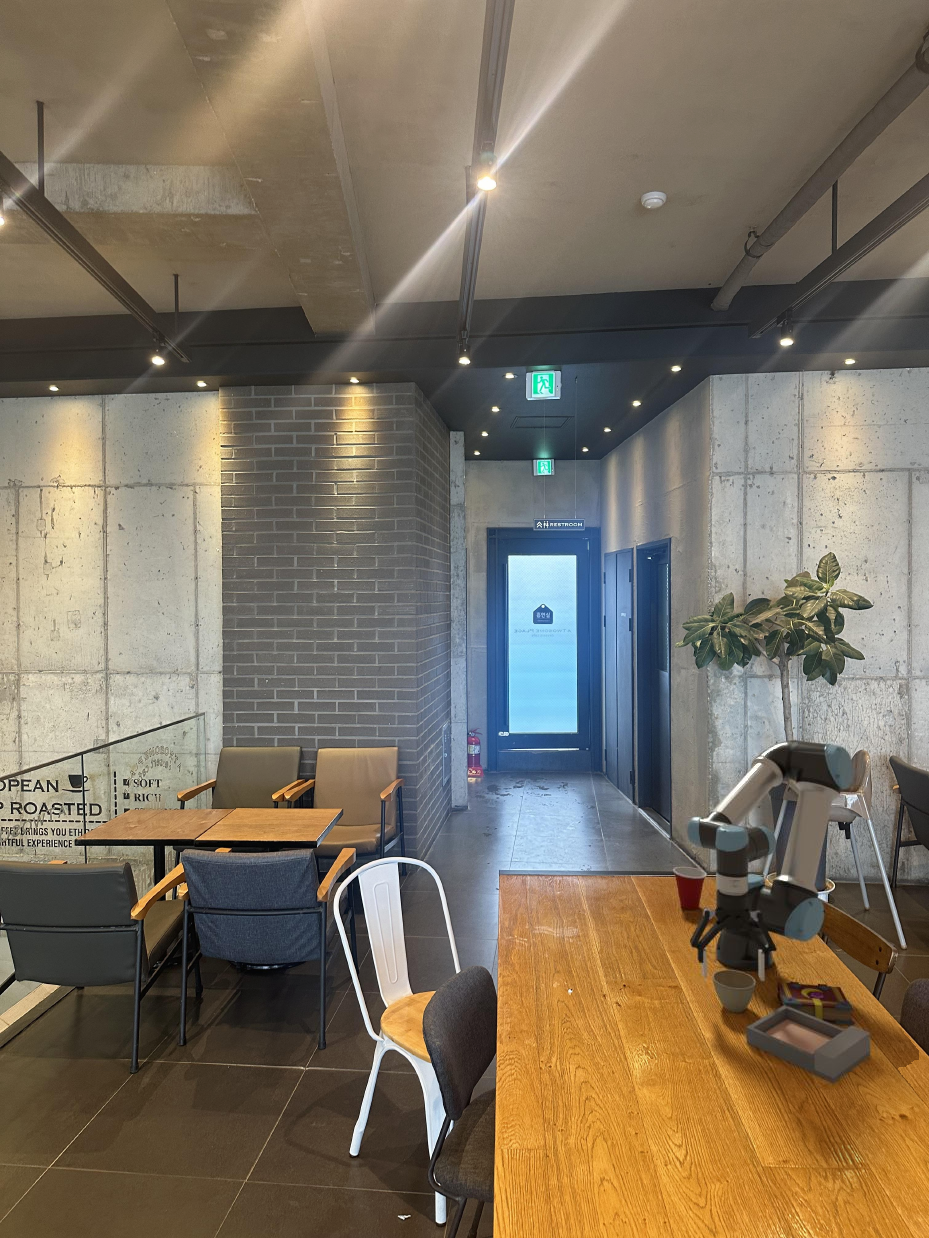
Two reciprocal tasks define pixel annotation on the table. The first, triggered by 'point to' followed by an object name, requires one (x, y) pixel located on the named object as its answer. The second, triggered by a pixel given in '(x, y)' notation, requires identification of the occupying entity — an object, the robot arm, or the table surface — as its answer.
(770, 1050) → the grey open tray
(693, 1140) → the table surface
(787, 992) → the decorative book
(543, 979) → the table surface
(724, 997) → the flower pot
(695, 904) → the plastic cup
